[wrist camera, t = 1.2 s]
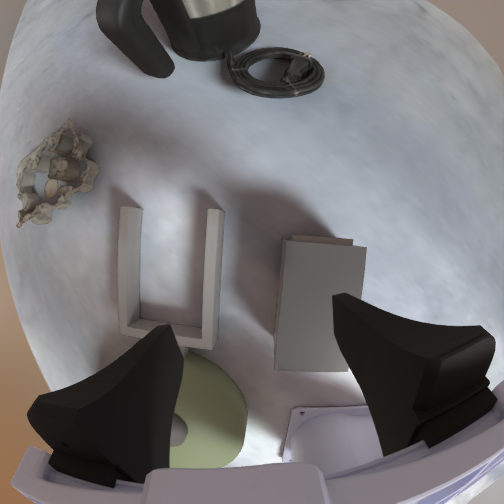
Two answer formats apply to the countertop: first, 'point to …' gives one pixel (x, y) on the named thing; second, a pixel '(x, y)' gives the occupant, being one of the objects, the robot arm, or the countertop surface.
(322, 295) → the grey block with ledge
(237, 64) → the milk frother
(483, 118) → the countertop surface
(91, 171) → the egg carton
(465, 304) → the countertop surface
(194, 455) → the green disc with bracket
